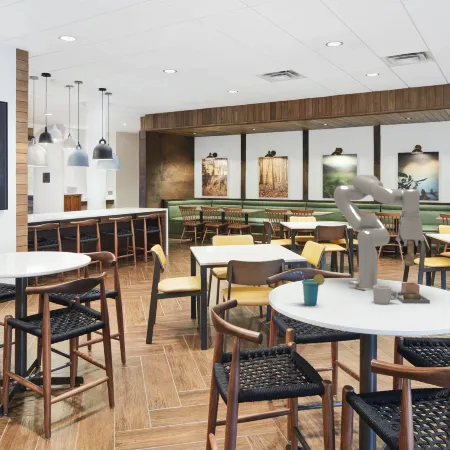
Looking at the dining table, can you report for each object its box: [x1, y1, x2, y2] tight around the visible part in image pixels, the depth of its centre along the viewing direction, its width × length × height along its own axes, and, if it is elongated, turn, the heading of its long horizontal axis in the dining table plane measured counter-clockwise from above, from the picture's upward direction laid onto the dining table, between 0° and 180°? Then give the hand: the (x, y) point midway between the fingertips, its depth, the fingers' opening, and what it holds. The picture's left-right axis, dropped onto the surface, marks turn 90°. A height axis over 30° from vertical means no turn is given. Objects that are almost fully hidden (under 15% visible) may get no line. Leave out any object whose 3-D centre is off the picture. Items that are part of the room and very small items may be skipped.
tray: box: [391, 291, 431, 305], centre depth 218 cm, size 12×16×2 cm
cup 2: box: [372, 284, 399, 305], centre depth 210 cm, size 11×8×8 cm
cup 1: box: [292, 270, 325, 307], centre depth 209 cm, size 14×8×15 cm, turn 78°
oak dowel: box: [404, 240, 415, 267], centre depth 220 cm, size 4×4×12 cm
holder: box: [401, 281, 420, 294], centre depth 230 cm, size 6×6×6 cm
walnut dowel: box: [402, 293, 422, 300], centre depth 215 cm, size 7×3×3 cm
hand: (409, 253), depth 220 cm, fingers closed on oak dowel, 3 cm apart
